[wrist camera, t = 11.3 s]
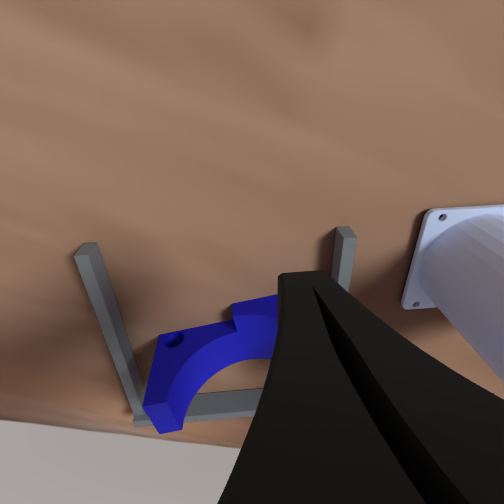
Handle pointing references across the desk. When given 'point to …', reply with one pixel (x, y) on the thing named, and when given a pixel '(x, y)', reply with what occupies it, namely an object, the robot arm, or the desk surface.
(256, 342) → the cable clip
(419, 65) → the desk surface
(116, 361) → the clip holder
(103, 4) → the desk surface
